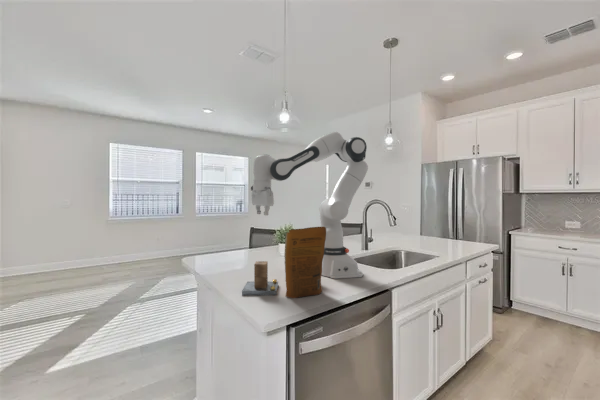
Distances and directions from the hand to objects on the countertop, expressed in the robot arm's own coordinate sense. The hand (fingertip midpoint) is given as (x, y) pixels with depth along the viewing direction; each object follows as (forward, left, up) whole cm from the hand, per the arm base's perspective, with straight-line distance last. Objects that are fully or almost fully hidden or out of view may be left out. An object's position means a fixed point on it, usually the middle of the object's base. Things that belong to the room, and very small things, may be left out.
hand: (262, 214), depth 138 cm
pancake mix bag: (-21, +26, -31) cm, 46 cm away
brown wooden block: (-2, +20, -29) cm, 36 cm away
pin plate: (-2, +20, -31) cm, 37 cm away
